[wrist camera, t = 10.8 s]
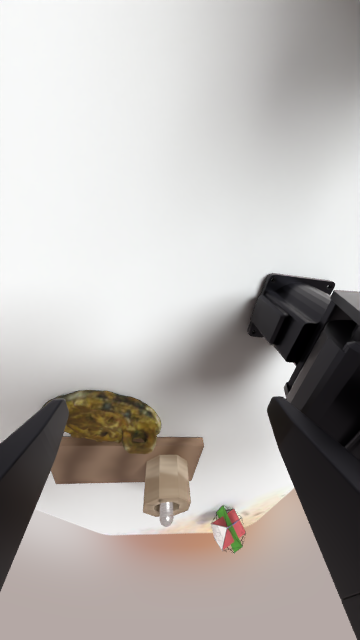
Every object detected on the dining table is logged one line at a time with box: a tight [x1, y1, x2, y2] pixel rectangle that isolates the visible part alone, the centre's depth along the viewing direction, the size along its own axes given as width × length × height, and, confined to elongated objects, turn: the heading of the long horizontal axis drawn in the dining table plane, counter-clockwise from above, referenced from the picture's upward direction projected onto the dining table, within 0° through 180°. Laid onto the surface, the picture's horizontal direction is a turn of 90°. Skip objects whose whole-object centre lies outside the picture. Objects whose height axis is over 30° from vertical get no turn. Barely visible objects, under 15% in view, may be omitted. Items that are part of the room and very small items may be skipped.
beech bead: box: [143, 455, 191, 517], centre depth 28 cm, size 6×6×5 cm
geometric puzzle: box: [211, 505, 246, 553], centre depth 42 cm, size 7×7×8 cm
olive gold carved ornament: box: [42, 390, 161, 454], centre depth 24 cm, size 9×5×15 cm
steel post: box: [160, 502, 173, 527], centre depth 28 cm, size 2×2×7 cm
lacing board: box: [51, 437, 204, 484], centre depth 30 cm, size 22×11×1 cm, turn 82°
